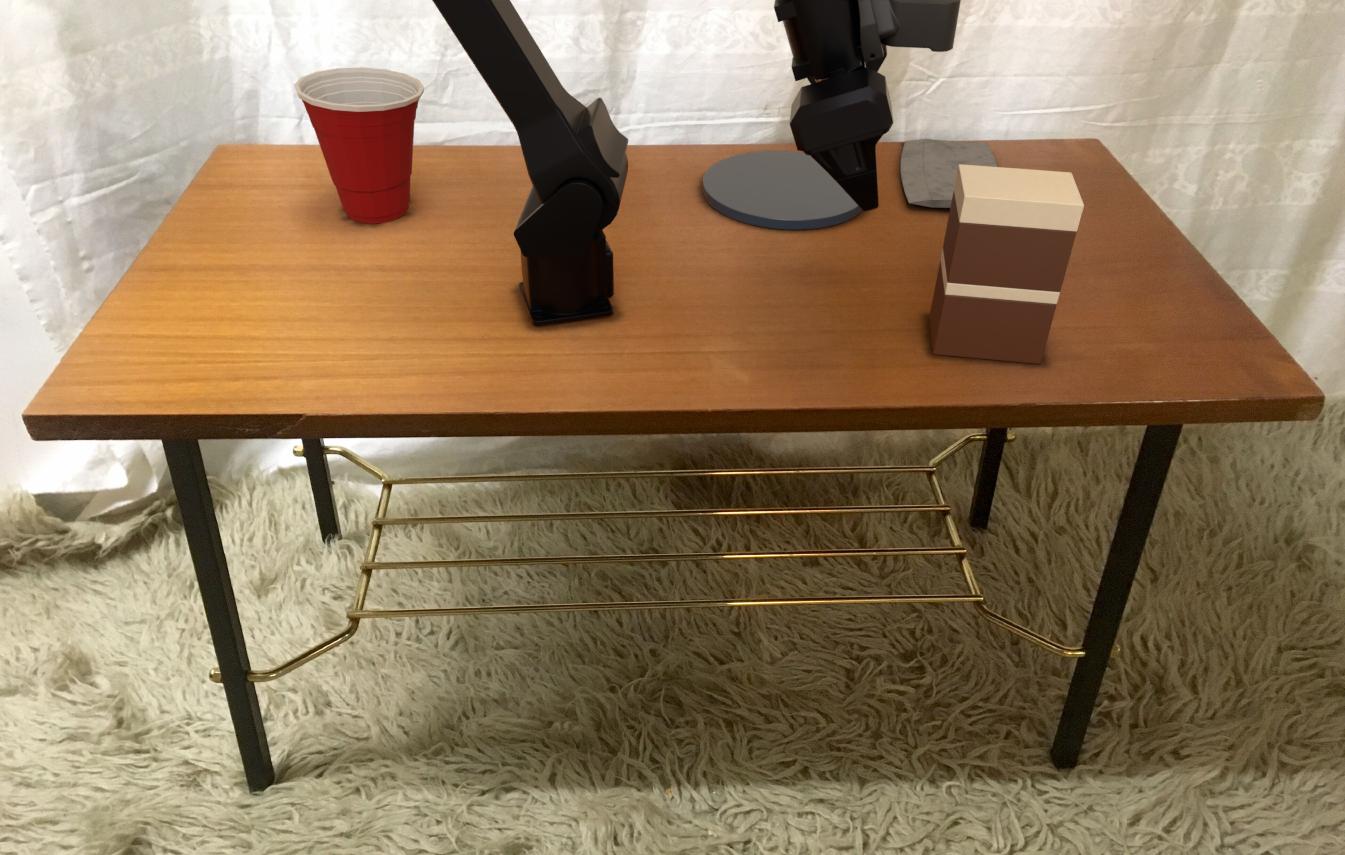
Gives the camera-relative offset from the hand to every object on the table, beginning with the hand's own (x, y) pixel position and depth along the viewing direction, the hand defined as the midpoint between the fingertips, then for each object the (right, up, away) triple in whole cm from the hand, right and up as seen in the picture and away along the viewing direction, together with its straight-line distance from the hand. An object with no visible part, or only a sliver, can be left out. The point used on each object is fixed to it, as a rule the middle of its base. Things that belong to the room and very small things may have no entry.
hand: (870, 180), depth 78 cm
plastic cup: (-42, +2, +21) cm, 47 cm away
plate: (-4, +5, +25) cm, 26 cm away
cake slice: (+10, -11, +5) cm, 16 cm away
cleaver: (+13, +3, +24) cm, 27 cm away
